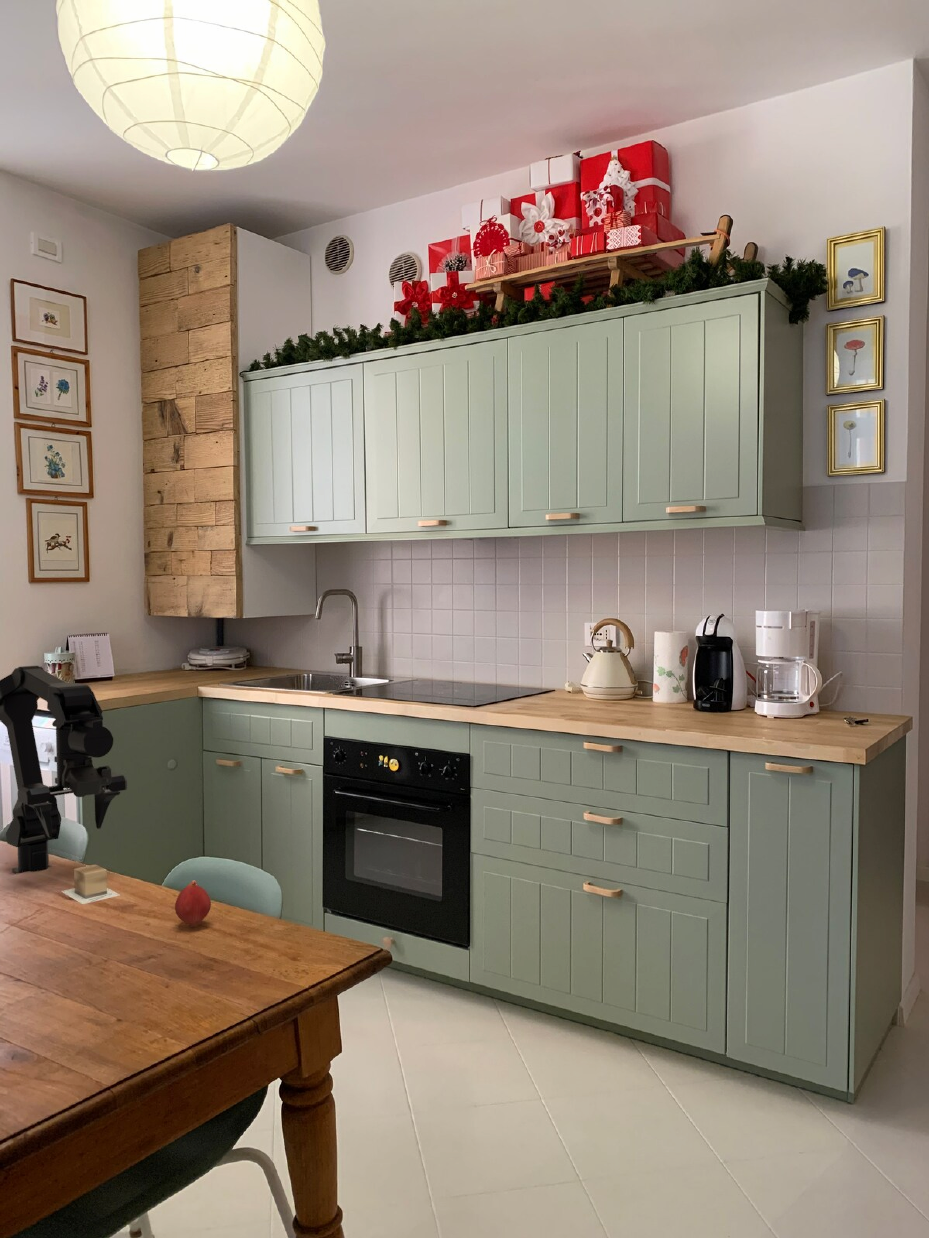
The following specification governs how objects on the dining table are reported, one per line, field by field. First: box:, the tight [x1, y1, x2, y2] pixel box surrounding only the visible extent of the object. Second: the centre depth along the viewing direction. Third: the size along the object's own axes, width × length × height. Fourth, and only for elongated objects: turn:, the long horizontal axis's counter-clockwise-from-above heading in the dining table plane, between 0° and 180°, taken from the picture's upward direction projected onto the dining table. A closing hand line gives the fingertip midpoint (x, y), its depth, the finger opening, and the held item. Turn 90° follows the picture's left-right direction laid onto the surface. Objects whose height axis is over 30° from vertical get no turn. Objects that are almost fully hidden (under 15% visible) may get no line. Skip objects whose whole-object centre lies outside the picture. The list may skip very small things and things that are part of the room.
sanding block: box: [73, 864, 108, 899], centre depth 174 cm, size 5×4×4 cm
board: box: [61, 887, 121, 905], centre depth 174 cm, size 10×7×1 cm
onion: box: [174, 880, 212, 928], centre depth 159 cm, size 6×6×8 cm
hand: (74, 832), depth 179 cm, fingers open, 9 cm apart
